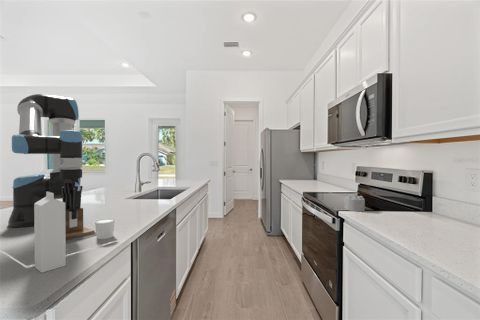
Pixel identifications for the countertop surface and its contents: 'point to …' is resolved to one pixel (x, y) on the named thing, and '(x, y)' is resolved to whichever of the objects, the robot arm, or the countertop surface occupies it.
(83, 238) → the mat
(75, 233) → the board
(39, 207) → the milk
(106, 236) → the white grey-rimmed cup
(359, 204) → the lumpy-topped squat cylinder
